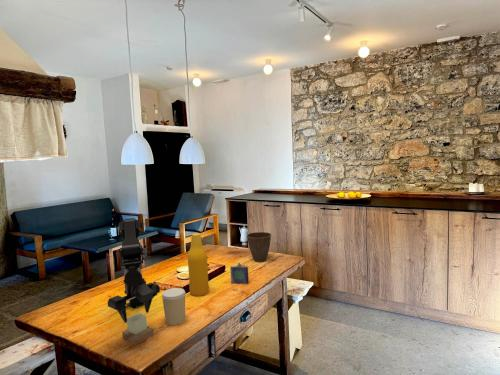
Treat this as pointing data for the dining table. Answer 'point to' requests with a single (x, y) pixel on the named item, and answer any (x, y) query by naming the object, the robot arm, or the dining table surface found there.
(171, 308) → the coffee cup
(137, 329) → the cube
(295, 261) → the dining table surface
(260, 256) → the plant pot
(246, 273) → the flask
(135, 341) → the base
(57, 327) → the dining table surface
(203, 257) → the beer bottle
